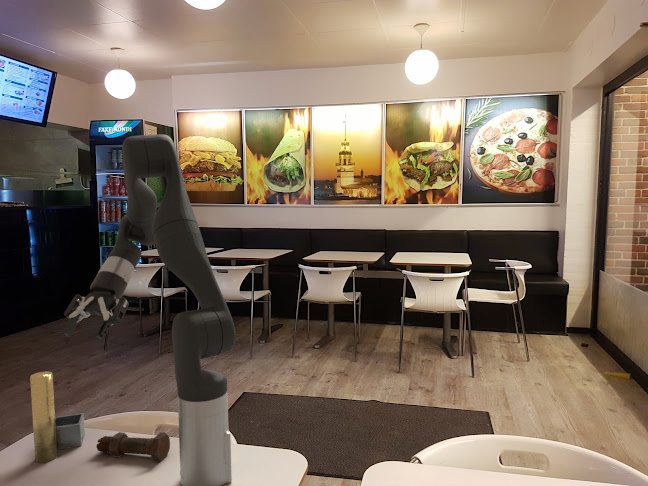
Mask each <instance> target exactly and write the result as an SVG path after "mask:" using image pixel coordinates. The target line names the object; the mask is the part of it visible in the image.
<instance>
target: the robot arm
mask: <svg viewBox="0 0 648 486" xmlns="http://www.w3.org/2000/svg"><path fill="white" fill-rule="evenodd" d="M121 149H122V151H121V156H122V157H121V158H122V165H123V166H122V168H123V176H124V183H125V188H126V194H127V195H126V196H127V201H126V203H127V205H126V214H125V215H124V216H122V217H121V219H120V221H119V225H118V231H117V236H116V237H117V238H116V239H115V240H116V241H115V244H114V246H113V248H112V249H111V251H110V253H109V256H108V257H107V259H106V260H105V261H104V262H103V263H102V265H101V267H100V269H99V271H98V272H97V274H96V276H95V278H94V279H93V280H92V283H91V285H90V287H89V293H88V294H87V295H86V296H81V295H80V294H79V293H77V294H75V296H73V298H72V300H71V301H70V303H69V305H68V306H67V308H66V309H65V311H64V313H63V315H64V316H65V317H66V318H67V322H66V324H65V325H64V326H63V330H62V332H63V334H64V335H65V336H66V337H71V336H72V335H73V333H74V332H75V330H76V328H77V326H78V324H79V323H80V322H81V321H82V320H83V319H87V318H88V317H90V316H99V317H103V320H101V322H100V324H99V326H98V328H97V330H96V331H95V333H94V334H95V335H94V336H95V338H97V340H103V339H104V338H105V337H106V336H107V334H108V332H109V330H110V328H111V327H113V325H114V324H117V325H120V324H121V323H122V322H123V319H124V317H125V314H126V312H127V310H128V308H129V304H130V303H129V302H128V300H127V299H126V297H124V293H125V291H126V289H127V287H128V285H129V283H130V282H131V279H132V276H133V275H134V274H133V273H134V271H135V270H136V267H137V265H138V264H139V262H140V259H141V257H142V252H143V251H142V249H141V248H140V246H138V245H137V244H135V243H138V244H140V245H143V246H152V245H155V247H156V250H157V254H158V256H159V258H160V261H161V262H162V263H163V265H164V266H166V267H167V268H168V269H169V270H170V272H172V273H173V274H174V275H175V276H176V277H177V278H179V280H181V281H182V282H183V283H184V284H185V286H187V287H188V288H189V289H190V290H191V291H192V293H193V294H194V296H195V298H196V299H197V302H198V304H199V306H200V308H199V309H192V310H186V311H181V312H179V313H177V314H176V315H175V316H174V319H173V321H172V326H171V337H172V338H171V339H172V350H173V361H174V375H175V381H176V387H177V411H178V412H177V414H178V441H179V469H180V470H179V476H180V485H181V486H224V485H226V484H228V483H232V480H233V479H232V448H231V447H232V446H231V445H232V444H231V442H232V440H231V437H232V436H231V432H230V429H229V405H228V403H229V402H228V400H229V398H228V379H227V376H226V375H225V374H224V373H223V372H220V371H217V370H212V369H206V368H202V365H201V360H202V359H207V358H212V357H216V356H221V355H224V354H226V353H229V352H231V351H232V350H233V349H234V347H235V345H236V338H237V337H236V335H237V334H236V328H235V323H234V319H233V317H232V314H231V312H230V310H229V307H228V305H227V304H228V303H227V302H226V299H225V297H224V295H223V293H222V291H221V289H220V286H219V284H218V282H217V279H216V277H215V274H214V272H213V268H212V265H211V263H210V260H209V256H208V253H207V250H206V247H205V243H204V239H203V237H202V236H203V235H202V233H201V229H200V227H199V223H198V221H197V219H196V216H195V213H194V209H193V207H192V204H191V201H190V197H189V195H188V192H187V189H186V184H185V181H184V176H183V173H182V172H183V171H182V168H181V164H180V160H179V156H178V152H177V148H176V146H175V142H174V141H173V139H172V138H171V137H170V136H169V135H167V134H145V135H144V134H141V135H139V134H138V135H132V136H127V137H125V139H124V140H123V142H122V148H121ZM159 177H161V178H163V177H164V178H165V181H166V187H165V191H164V195H163V196H162V200H161V201H160V204H159V206H158V198H157V195H156V193H155V191H154V190H153V189H152V188H151V187H150V186H149V185H148V184H147V183H146V182H144V180H143V179H147V178H159ZM84 309H85V311H84ZM113 309H114V311H112V310H113Z"/></svg>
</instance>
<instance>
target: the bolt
mask: <svg viewBox="0 0 648 486" xmlns="http://www.w3.org/2000/svg"><path fill="white" fill-rule="evenodd" d="M170 439H171V438H170V436H169V435H168V434H167V432H163V431H160V432H159V433H158V434H157V435H156V436H154V437H150V438H148V437H147V438H145V437H129V435H127V433H126V432H123V431H122V432H117V433H115V434H114V435H113V436H112V435H111V436H110V435H109V436H108V435H105V436H103V437H100V438H99V439H98V440H97V444H96V450H97V451H98V452H100V453H109V454H110V455H111V456H112V457H113V458H120V457H123V456H124V455H125V454H130V455H131V454H133V455H144V456H145V455H146V456H150V457H151V458H152V460H153V461H154V462H155V463H156V462H157V463H158V462H159V463H160V462H163V460H164V459H166V458H167V456H168V454H169V452H170V448H171V441H170Z"/></svg>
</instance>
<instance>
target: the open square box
mask: <svg viewBox="0 0 648 486" xmlns="http://www.w3.org/2000/svg"><path fill="white" fill-rule="evenodd" d="M55 428H56V446H57V451H58V450H64V449H70V448H71V449H72V448H77V447H82V445H83V441H84V438H85V435H86V433H85V432H86V431H85V413H84V412H81V413H74V414H68V415H62V416H55Z"/></svg>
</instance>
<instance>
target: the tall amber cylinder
mask: <svg viewBox="0 0 648 486" xmlns="http://www.w3.org/2000/svg"><path fill="white" fill-rule="evenodd" d="M29 380H30V394H31V396H30V397H31V409H32V410H31V411H32V413H31V414H32V427H33V428H32V429H33V430H32V431H33V442H34V443H33V447H34V460H35V461H34V462H35V463H38V464H44V463H48V462H51V461H54V460H55V459H56V458H57V456H58V450H57V446H56V428H55V417H56V413H55V395H54V394H55V393H54V377H53V372H52V371H39V372H35V373H33V374H31V375H30V379H29Z"/></svg>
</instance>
